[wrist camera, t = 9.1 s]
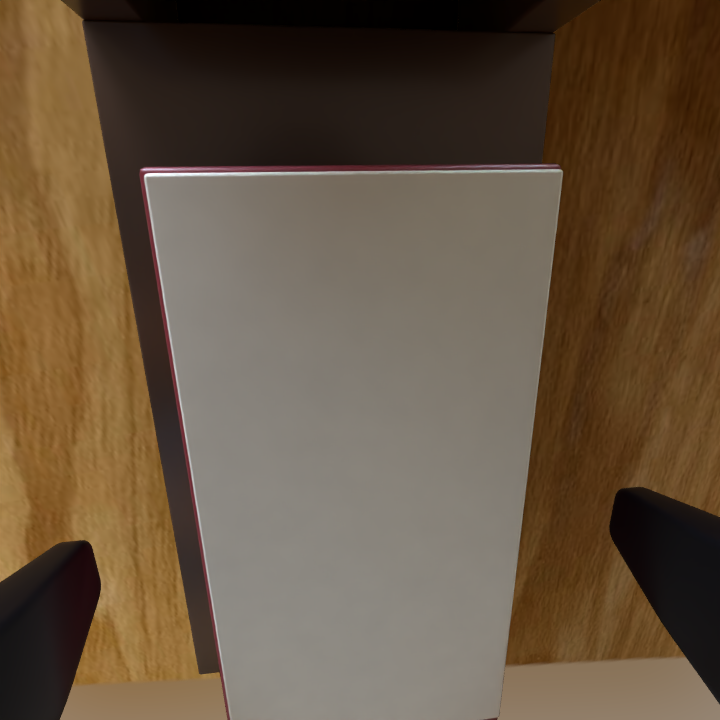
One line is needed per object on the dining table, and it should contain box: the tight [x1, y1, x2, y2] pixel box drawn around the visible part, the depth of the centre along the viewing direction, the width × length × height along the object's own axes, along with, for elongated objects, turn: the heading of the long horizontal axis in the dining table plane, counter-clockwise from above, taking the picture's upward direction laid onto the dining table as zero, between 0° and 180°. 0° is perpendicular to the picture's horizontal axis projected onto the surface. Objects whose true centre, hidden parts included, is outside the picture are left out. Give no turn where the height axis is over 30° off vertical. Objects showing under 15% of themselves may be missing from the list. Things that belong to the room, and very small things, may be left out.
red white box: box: [139, 163, 563, 720], centre depth 10 cm, size 12×6×5 cm, turn 1°
